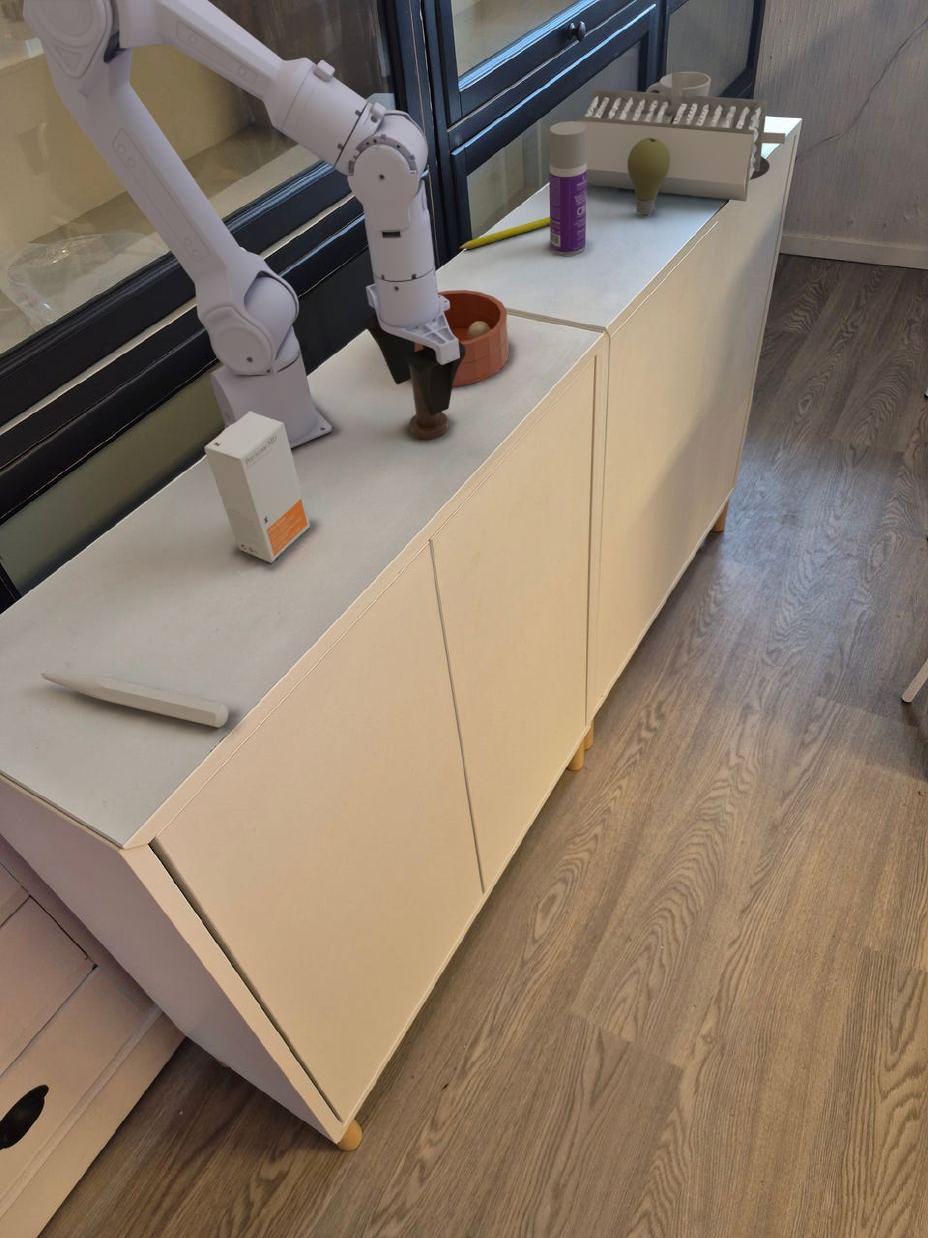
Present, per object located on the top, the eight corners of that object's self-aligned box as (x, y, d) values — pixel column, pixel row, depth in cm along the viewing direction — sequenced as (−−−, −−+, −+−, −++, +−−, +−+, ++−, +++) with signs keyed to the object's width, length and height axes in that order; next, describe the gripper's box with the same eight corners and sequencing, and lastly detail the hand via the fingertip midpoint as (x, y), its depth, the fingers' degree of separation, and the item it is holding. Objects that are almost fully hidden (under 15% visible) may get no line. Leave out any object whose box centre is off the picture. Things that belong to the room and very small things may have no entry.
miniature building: (780, 172, 127) (762, 219, 124) (595, 154, 136) (573, 198, 132) (793, 79, 116) (774, 128, 112) (590, 67, 125) (566, 112, 121)
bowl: (436, 399, 99) (431, 359, 95) (383, 352, 106) (376, 313, 103) (529, 360, 103) (528, 320, 99) (471, 318, 110) (468, 279, 106)
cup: (698, 150, 139) (704, 89, 132) (635, 146, 142) (638, 86, 136) (709, 132, 143) (716, 72, 137) (647, 128, 146) (651, 69, 140)
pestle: (428, 444, 93) (418, 377, 88) (403, 429, 95) (392, 363, 90) (456, 426, 95) (448, 359, 89) (430, 412, 97) (422, 346, 91)
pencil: (565, 221, 127) (561, 215, 127) (566, 216, 126) (563, 210, 126) (459, 253, 123) (456, 247, 123) (460, 248, 122) (457, 242, 122)
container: (583, 256, 119) (585, 134, 108) (548, 255, 120) (546, 135, 109) (587, 240, 122) (589, 120, 111) (552, 239, 123) (551, 120, 112)
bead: (478, 336, 102) (463, 347, 104) (497, 342, 103) (482, 353, 105) (475, 313, 102) (461, 325, 104) (495, 320, 104) (480, 331, 106)
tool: (48, 659, 75) (47, 682, 75) (33, 664, 73) (32, 688, 74) (232, 702, 71) (231, 726, 71) (221, 708, 69) (219, 732, 69)
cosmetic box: (272, 565, 83) (238, 460, 74) (238, 550, 85) (200, 446, 76) (313, 525, 86) (285, 421, 77) (279, 512, 88) (248, 409, 79)
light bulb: (672, 210, 126) (678, 134, 118) (655, 227, 123) (661, 149, 115) (635, 204, 128) (639, 128, 121) (618, 220, 125) (621, 144, 118)
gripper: (483, 281, 79) (492, 412, 89) (403, 227, 88) (419, 351, 97) (413, 308, 77) (431, 439, 86) (338, 249, 85) (362, 374, 95)
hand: (421, 394), depth 92 cm, fingers open, 6 cm apart
